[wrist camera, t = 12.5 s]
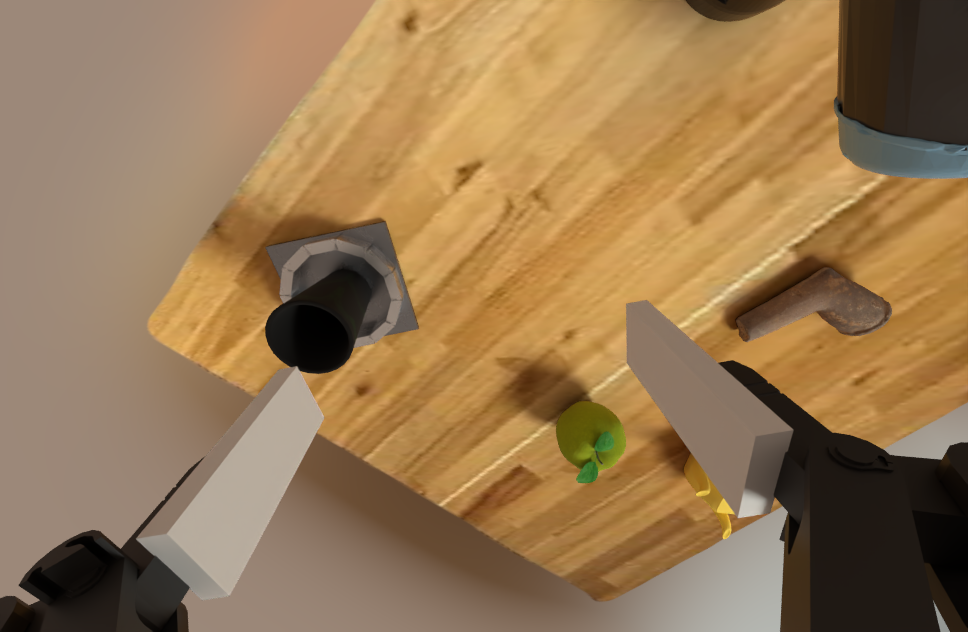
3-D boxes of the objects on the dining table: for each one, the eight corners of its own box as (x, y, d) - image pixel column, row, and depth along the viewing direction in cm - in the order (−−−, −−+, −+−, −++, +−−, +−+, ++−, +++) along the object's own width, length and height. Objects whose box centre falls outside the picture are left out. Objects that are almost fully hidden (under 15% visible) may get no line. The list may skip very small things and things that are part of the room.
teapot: (691, 492, 64) (728, 546, 56) (661, 449, 59) (696, 501, 50) (768, 455, 61) (819, 505, 52) (744, 406, 56) (796, 454, 47)
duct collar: (267, 246, 40) (255, 252, 37) (385, 221, 40) (380, 225, 37) (316, 347, 46) (308, 359, 44) (418, 327, 46) (416, 337, 43)
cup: (303, 269, 41) (247, 313, 30) (365, 253, 40) (330, 291, 30) (331, 325, 44) (290, 382, 33) (388, 310, 44) (365, 363, 33)
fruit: (539, 426, 55) (555, 481, 46) (567, 381, 51) (590, 431, 42) (589, 440, 57) (613, 495, 48) (619, 398, 53) (651, 448, 44)
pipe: (748, 329, 44) (779, 387, 46) (887, 252, 40) (913, 319, 43) (718, 314, 50) (746, 365, 52) (836, 246, 46) (861, 304, 49)
